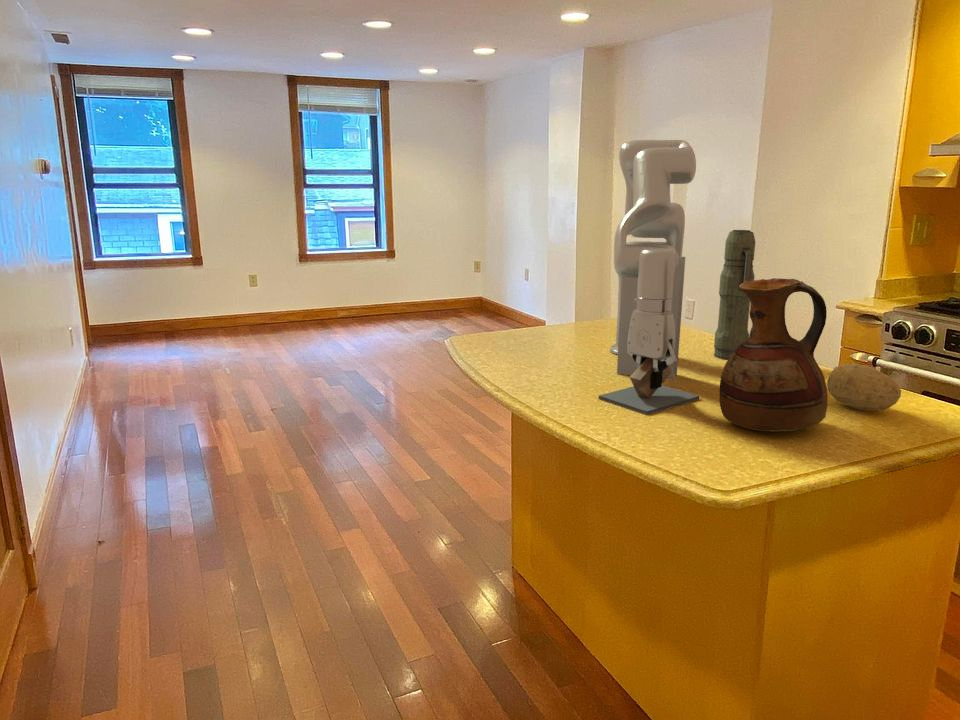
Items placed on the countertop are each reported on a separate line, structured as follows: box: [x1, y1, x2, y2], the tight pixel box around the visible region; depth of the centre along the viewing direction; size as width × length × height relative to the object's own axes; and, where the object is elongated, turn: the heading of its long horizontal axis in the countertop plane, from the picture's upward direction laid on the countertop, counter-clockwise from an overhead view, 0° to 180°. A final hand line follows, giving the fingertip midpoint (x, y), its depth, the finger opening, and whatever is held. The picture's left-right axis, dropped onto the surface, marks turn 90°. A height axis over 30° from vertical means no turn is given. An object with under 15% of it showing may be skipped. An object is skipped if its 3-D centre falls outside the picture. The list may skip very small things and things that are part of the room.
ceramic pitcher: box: [718, 278, 829, 432], centre depth 137 cm, size 20×20×30 cm
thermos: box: [713, 229, 756, 361], centre depth 190 cm, size 9×12×35 cm
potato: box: [826, 363, 902, 412], centre depth 149 cm, size 10×14×10 cm
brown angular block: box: [629, 358, 672, 399], centre depth 155 cm, size 3×9×6 cm
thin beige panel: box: [616, 256, 686, 381], centre depth 173 cm, size 14×6×30 cm, turn 65°
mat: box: [598, 384, 700, 416], centre depth 157 cm, size 18×14×1 cm
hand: (649, 385), depth 156 cm, fingers closed on brown angular block, 3 cm apart
